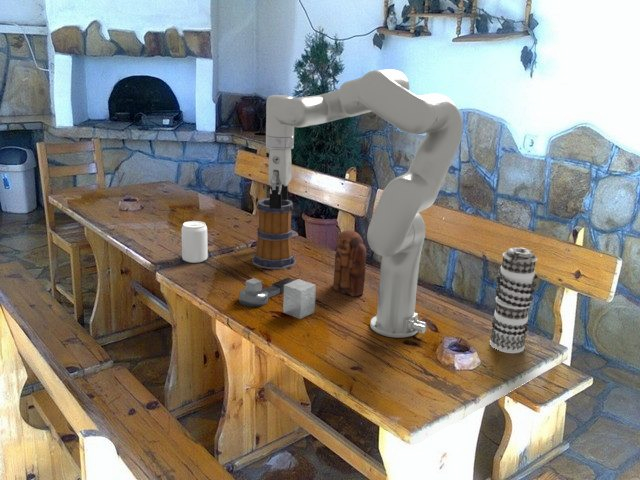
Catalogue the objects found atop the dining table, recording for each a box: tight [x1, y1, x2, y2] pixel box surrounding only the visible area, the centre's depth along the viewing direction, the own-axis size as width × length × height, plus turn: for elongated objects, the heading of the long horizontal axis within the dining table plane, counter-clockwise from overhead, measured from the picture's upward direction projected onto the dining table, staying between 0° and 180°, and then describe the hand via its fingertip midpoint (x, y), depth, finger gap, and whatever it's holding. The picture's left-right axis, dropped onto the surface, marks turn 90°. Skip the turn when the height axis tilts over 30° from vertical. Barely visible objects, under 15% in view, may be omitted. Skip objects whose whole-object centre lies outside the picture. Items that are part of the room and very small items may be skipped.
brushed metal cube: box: [282, 278, 317, 320], centre depth 174 cm, size 6×6×8 cm
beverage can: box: [181, 220, 209, 264], centre depth 209 cm, size 8×8×12 cm
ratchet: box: [238, 276, 296, 308], centre depth 185 cm, size 8×21×6 cm, turn 142°
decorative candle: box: [489, 246, 539, 354], centre depth 158 cm, size 9×9×25 cm
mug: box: [251, 197, 297, 270], centre depth 212 cm, size 19×14×20 cm
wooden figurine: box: [332, 229, 367, 297], centre depth 189 cm, size 12×6×18 cm, turn 42°
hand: (278, 203), depth 180 cm, fingers open, 9 cm apart
